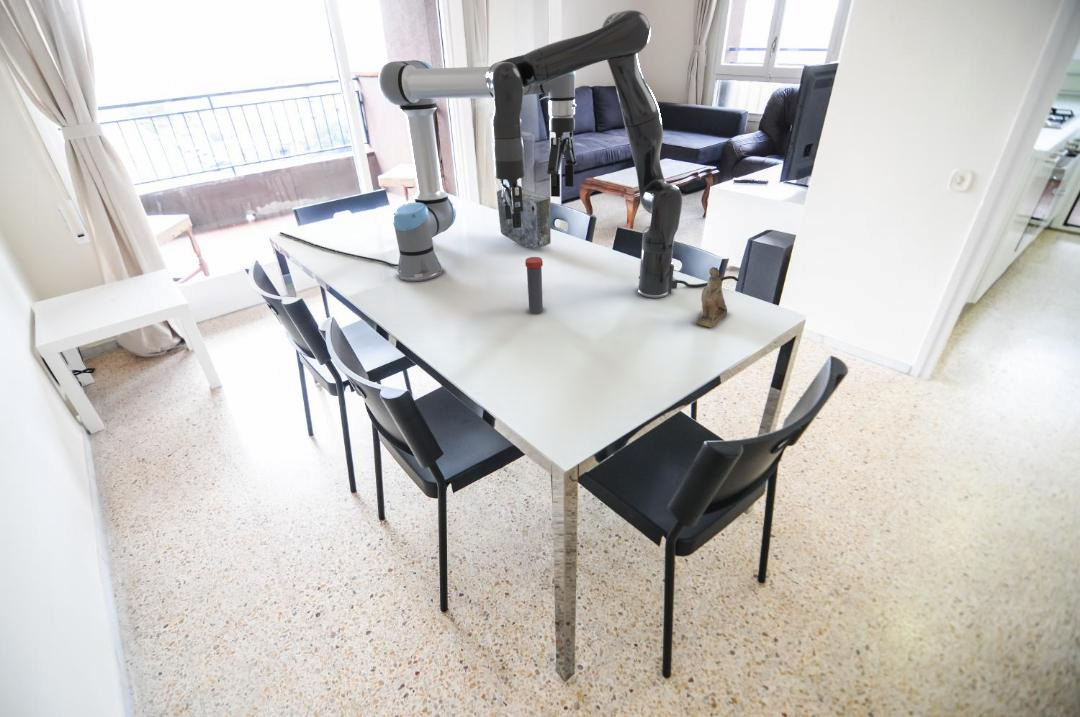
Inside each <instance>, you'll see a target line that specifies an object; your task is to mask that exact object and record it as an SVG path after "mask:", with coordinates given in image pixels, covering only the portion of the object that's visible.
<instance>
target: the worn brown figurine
mask: <svg viewBox="0 0 1080 717" xmlns="http://www.w3.org/2000/svg"><path fill="white" fill-rule="evenodd" d="M708 273H709V275H710V276H709V278H708V279H707V280H708V281H707V283H708V284H707V286H704V287H703V290H702V292H701V297H700V298H701V309H702V312H701V315H700V316H699V317H698V318H697V319H696V321H695V324H696V325H699V326H703V327H705V328H712V327H714V326H715V325H716V324H717V323H719V321H721V320H722V319H723V318H725V317H726V316H727V315H728V307H727V304H726V301H725V298H724V293H723V290H722V287H723V280H721V279H720V278H721V277H720V270H719V269H718V268H717V267H715V266H712V267H711V268H710V269H709V270H708Z"/></svg>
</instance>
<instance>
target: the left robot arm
mask: <svg viewBox="0 0 1080 717" xmlns="http://www.w3.org/2000/svg"><path fill="white" fill-rule="evenodd" d="M490 67H491V66H469V67H468V66H467V67H466V66H465V67H464V66H463V67H433V66H431V65H430V64H429V63H428V62H425V61H424V60H423V61H422V60H416V59H412V60H400V61H399V60H398V61H397V60H395V61H391V62H387V63H386V64H384V65H383V66H382V67H381V69H380V71H379V72H378V77H377V85H378V89H379V92H380V93H381V95H382V96H383V97H384V99H385V100H387V101H388V102H389V103H390V104H393V105H396V106H399V111H400V112H401V113H403V114H404V116H405V119H406V124H407V125H406V126H407V132H408V137H409V144H410V151H411V156H412V162H413V170H414V175H415V176H414V177H415V182H416V187H417V192H416V193H415V194H414V202H409V203H407V204H406V203H404V204H402V205H400V206H398V207H396V208H395V209H394V210H393V213H392V219H393V221H392V224H393V227H394V230H395V231H394V232H395V236H396V241H397V247H398V251H399V259H398V263H391V262H388V261H386V260H382V259H378V258H373V257H367V256H363V255H358V254H353V253H349V252H344V251H340V250H337V249H333V248H330V247H325V246H322V245H319V244H316V243H313V242H311V241H307V240H305V239H302V238H300V237H297V236H293V235H290V234H288V233H285V232H281V231H280V232H279V234H280V235H283V236H286V237H289V238H292V239H294V240H297V241H300V242H303V243H305V244H308V245H311V246H314V247H317V248H320V249H324V250H325V251H326V250H327V251H330V252H333V253H337V254H342V255H345V256H350V257H354V258H360V259H364V260H368V261H369V260H370V261H374V262H379V263H383V264H386V265H388V266H391V267H397V276H398V278H399V279H400V280H402V281H406V282H413V283H414V282H425V281H429V280H432V279H435V278H438V277H439V276H440V275H441V274H442V273H443V268H442V264H441V263H440V260H439V259H438V256H437V254H436V252H435V250H434V243H433V238H434V237H436V236H438V235H439V234H441V233H444V232H446V231H447V230H449V228H451V227H452V226H453V225H454V223H455V221H456V216H457V212H456V207H455V205H454V202H452V201H451V199H450V198H449V194H448V192H447V191H445V190H444V188H443V182H442V174H441V167H440V160H439V153H438V152H439V151H438V145H437V137H436V130H435V122H434V113H435V111H436V110H437V101H436V100H437V99H439V100H440V99H494V94H492V93H491V92H490V91H489V89H488V88H487V85H486V81H485V78H486V73H487V71H488V69H489V68H490ZM547 94H548V115H549V116H550V117H549V120H548V121H549V123H548V124H549V132H551V133H554V137H550V148H549V154H548V165H547V170H546V172H547V175H550V197H552V198H553V197H554V198H555V197H556V198H560V197H561V174H560V169H561V163H562V159H564V161H565V165H564V187H569V188H571V187H575V165H577V164H578V163H577V154H576V149H575V143H574V131H575V130H576V118H575V117H574V116H575V114H576V108H577V104H576V98H575V97H576V71H574V72H571V73H569V74H567V75H564V76H562V77H559V78H557V79H554V80H551V81H549V82H546V83H543V84H540V85H532V86H528V87H525V88H523V97H525V96H529V95H547ZM563 157H564V158H563Z"/></svg>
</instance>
